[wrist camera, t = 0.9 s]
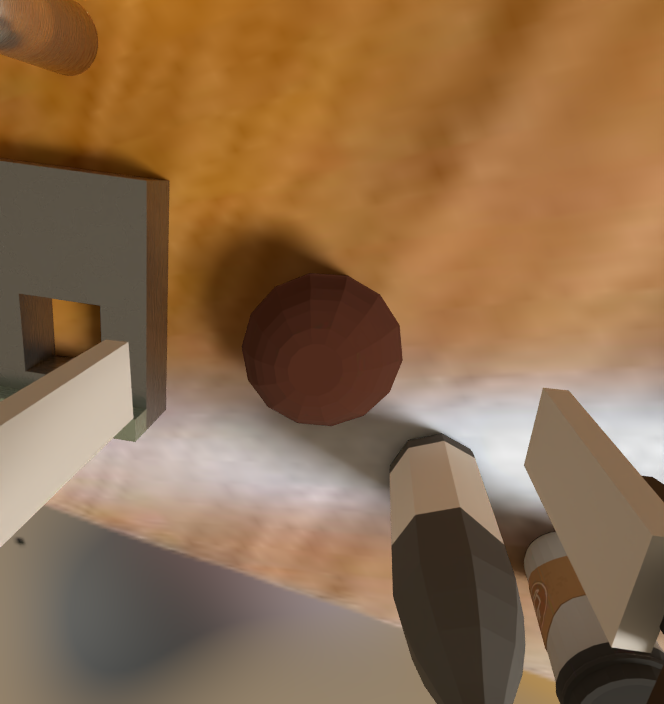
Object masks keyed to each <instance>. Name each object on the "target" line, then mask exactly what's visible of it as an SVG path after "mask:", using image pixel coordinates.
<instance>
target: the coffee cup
mask: <svg viewBox="0 0 664 704" xmlns="http://www.w3.org/2000/svg"><path fill="white" fill-rule="evenodd" d="M524 569H525V572H526V576H527V580H528V583H529V590H530V594H531V598H532V601H533V605H534V609H535V612H536V616H537V620H538V623H539V627H540V631H541V634H542V638H543V642H544V645H545V649H546V651H547V652H548V655H549V659H550V663H551V666H552V670H553V673H554V677H555V681H556V694H557V697H558V699H559V702H560V704H646V703H647V701H648V699H649V696H650V694H651V692H652V690H653V687H654V685H655V683H656V681H657V678H658V676H659V674H660V672H661V669H662V667H663V665H664V651H663V650H662V648H661V647H660V646H659V644H658V643H657V641H656V642H655V645H654V647H653V649H652V652H651V653H647V652H640V651H633V650H626V649H619V648H612V647H611V646H610V644H609V641H608V639H607V637H606V635H605V633H604V631H603V629H602V627H601V625H600V623H599V621H598V619H597V616H596V614H595V612H594V610H593V608H592V606H591V604H590V602H589V600H588V598H587V596H586V593H585V591H584V589H583V587H582V585H581V583H580V581H579V579H578V577H577V575H576V573H575V571H574V568H573V566H572V564H571V562H570V560H569V558H568V556H567V554H566V552H565V550H564V548H563V545H562V543H561V541H560V539H559V537H558V535H557V533H556V532H551V533H548V534H544V535H542V536H540V537H538V538H537V539H536V540H534V541H533V542H532V543H531V544H530V546H529V547H528V549H527V552H526V555H525V559H524Z"/></svg>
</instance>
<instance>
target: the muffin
mask: <svg viewBox="0 0 664 704" xmlns="http://www.w3.org/2000/svg"><path fill="white" fill-rule="evenodd" d="M242 351H243V356H244V362H245V367H246V372H247V377H248V381H249V382H250V383H251V385H252V386H253V387H254V389H255V390H256V391H257V393H258V394H259V395H260V397H261V398H262V399H263V401H264V402H265V403H266V405H267V406H268V407H269V408H271V409H273V410H275V411H277V412H279V413H280V414H282V415H284V416H286V417H288V418H289V419H291V420H293V421H295V422H297V423H303V424H314V425H325V426H333V425H336V424H339V423H342V422H345V421H348V420H352V419H355V418H358V417H361V416H364V415H365V414H366V413H367V412H368V411H369V410H371V409H372V408H373V407H374V406H375V405H376V404H377V403H378V402H379V401H380V400H382V399H383V398H384V397H385V396H386V395H387V394H388V393H389V392H390V390H391V387H392V385H393V382H394V380H395V378H396V375H397V373H398V370H399V368H400V365H401V363H402V348H401V337H400V326H399V324H398V322H397V321H396V319H395V317H394V316H393V314H392V313H391V311H390V310H389V308H388V306H387V305H386V303H385V302H384V300H383V299H382V297H381V296H380V294H378V293H376V292H374V291H373V290H371V289H369V288H368V287H366V286H364V285H363V284H361V283H359V282H357V281H356V280H354V279H352V278H351V277H349V276H343V275H329V274H315V273H309V274H306V275H304V276H301V277H299V278H296V279H294V280H291V281H289V282H286V283H284V284H281V285H279V286H276V287H275V288H274V289H273V290H272V291H271V292H270V293H269V294H268V295H267V297H266V298H265V299H264V300H263V301H262V302H261V303H260V304H259V305H258V306H257V308H256V309H255V310H254V311H253V312H252V313H251V315H250V319H249V323H248V326H247V330H246V333H245V337H244V340H243V344H242Z"/></svg>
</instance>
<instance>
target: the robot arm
mask: <svg viewBox="0 0 664 704" xmlns="http://www.w3.org/2000/svg"><path fill="white" fill-rule="evenodd" d="M132 419H133V405H132V389H131V374H130V358H129V343H128V342H124V341H115V340H104V341H102V342H100V343H99V344H97V345H95V346H94V347H92V348H90V349H89V350H87V351H85V352H84V353H82V354H80V355H79V356H77V357H75V358H74V359H72V360H70V361H68V362H67V363H65V364H63V365H62V366H60V367H58V368H57V369H55V370H53V371H52V372H50V373H48V374H47V375H45V376H43V377H41V378H40V379H38V380H36V381H35V382H33V383H31V384H30V385H28V386H26V387H25V388H23V389H21V390H20V391H18V392H16V393H15V394H13V395H11V396H9V397H8V398H6V399H4V400H3V401H1V402H0V547H1V546H2V545H3V544H4V543H5V542H6V541H7V540H8V539H9V538H10V537H11V536H12V535H13V534H15V533H16V532H17V530H19V529H20V528H21V527H22V526H23V525H24V524H25V523H26V522H27V521H28V520H29V519H30V518H31V517H32V516H33V515H34V514H35V513H36V512H37V511H38V510H39V509H40V508H41V507H42V506H43V505H44V504H45V503H46V502H47V501H48V500H50V499H51V498H52V497H53V496H54V495H55V494H56V493H57V492H58V491H59V490H60V489H61V488H62V487H63V486H64V485H65V484H66V483H67V482H68V481H69V480H70V479H71V478H72V477H73V476H74V475H75V474H76V473H77V472H78V471H79V470H80V469H81V468H82V467H83V466H85V465H86V464H87V463H88V462H89V461H90V460H91V459H92V458H93V457H94V456H95V455H96V454H97V453H98V452H99V451H100V450H101V449H102V448H103V447H104V446H105V445H106V444H107V443H108V442H109V441H110V440H111V439H112V438H113V437H114V436H115V435H116V434H117V433H118V432H120V431H121V430H122V429H123V428H124V427H125V426H126V425H127V424H128V423H129V422H130V421H131V420H132ZM524 466H525V468H526V470H527V472H528V475H529V477H530V479H531V481H532V483H533V485H534V487H535V489H536V491H537V493H538V495H539V497H540V500H541V502H542V504H543V506H544V508H545V510H546V512H547V514H548V516H549V518H550V520H551V523H552V525H553V527H554V529H555V531H556V533H557V535H558V537H559V539H560V541H561V543H562V545H563V548H564V550H565V552H566V554H567V556H568V558H569V560H570V562H571V564H572V566H573V568H574V571H575V573H576V575H577V577H578V579H579V581H580V583H581V585H582V587H583V589H584V591H585V593H586V596H587V598H588V600H589V602H590V604H591V606H592V608H593V610H594V612H595V614H596V616H597V619H598V621H599V623H600V625H601V627H602V629H603V631H604V633H605V635H606V637H607V639H608V641H609V644H610V646H611V647H612V648H619V649H626V650H633V651H640V652H647V653H651V652H652V649H653V647H654V645H655V642H656V640H657V637H658V635H659V632H660V630H661V631H662V632H663V634H664V484H662V483H661V482H659V481H658V480H656V479H655V478H653V477H648V476H641V475H640V474H639V473H638V471H637V470H636V469H635V468H634V467H633V466H632V464H631V463H630V462H629V461H628V460H627V458H626V457H625V456H624V455H623V454H622V453H621V451H620V450H619V449H618V448H617V447H616V446H615V444H614V443H613V442H612V441H611V440H610V438H609V437H608V436H607V435H606V434H605V433H604V431H603V430H602V429H601V428H600V427H599V426H598V424H597V423H596V422H595V421H594V420H593V419H592V417H591V416H590V415H589V414H588V413H587V411H586V410H585V409H584V408H583V407H582V406H581V404H580V403H579V402H578V401H577V400H576V399H575V397H574V396H573V395H572V394H571V393H570V391H568V390H559V389H549V388H543V390H542V394H541V398H540V403H539V407H538V411H537V415H536V419H535V423H534V427H533V431H532V435H531V439H530V443H529V447H528V451H527V455H526V459H525V463H524ZM646 704H664V665H663V667H662V669H661V672H660V674H659V676H658V678H657V681H656V683H655V685H654V687H653V690H652V692H651V694H650V696H649V699H648V701H647V703H646Z"/></svg>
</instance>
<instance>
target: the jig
mask: <svg viewBox="0 0 664 704" xmlns="http://www.w3.org/2000/svg"><path fill="white" fill-rule="evenodd" d="M168 227H169V181H167V180H160V179H152V178H145V177H137V176H130V175H123V174H115V173H108V172H100V171H93V170H86V169H78V168H71V167H64V166H56V165H49V164H41V163H34V162H27V161H19V160H12V159H4V158H0V402H1V401H3V400H4V399H6V398H8V397H9V396H11V395H13V394H15V393H16V392H18V391H20V390H21V389H23V388H25V387H26V386H28V385H30V384H31V383H33V382H35V381H36V380H38V379H40V378H41V377H43V376H45V375H47V374H48V373H50V372H52V371H53V370H55V369H57V368H58V367H60V366H62V365H63V364H65V363H67V362H68V361H70V360H72V359H74V358H69V357H62V356H56V355H55V344H54V328H53V313H52V298H53V299H59V300H66V301H73V302H80V303H86V304H93V305H100V315H101V342H102V341H104V340H115V341H124V342H128V343H129V358H130V374H131V389H132V405H133V419H132V420H131V421H130V422H129V423H128V424H127V425H126V426H125V427H124V428H123V429H122V430H121V431H120V432H118V433H117V434H116V435H115V436H114V437H113V438H114V439H121V440H127V441H133V442H136V441H137V440H138V439H139V437H140V436H141V435H142V434H143V433H144V432H145V431H146V430H147V429H148V428H149V427H150V426H151V425H152V424H153V423H154V422H155V421H156V419H157V418H158V417H159V416H160V415H161V414H162V413H163V412H164V411H165V410H166V360H167V294H168Z"/></svg>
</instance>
